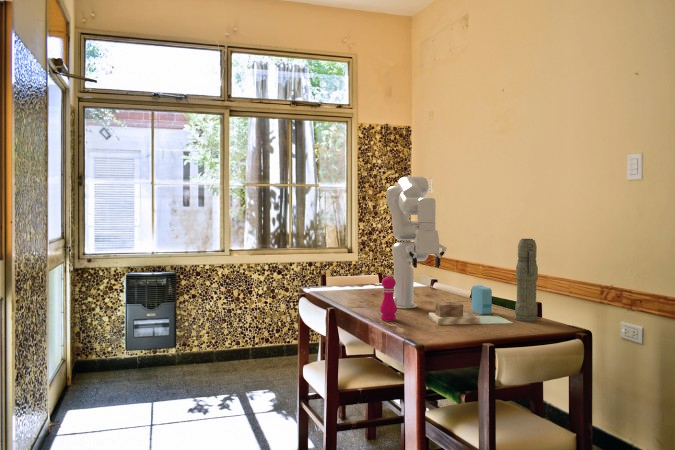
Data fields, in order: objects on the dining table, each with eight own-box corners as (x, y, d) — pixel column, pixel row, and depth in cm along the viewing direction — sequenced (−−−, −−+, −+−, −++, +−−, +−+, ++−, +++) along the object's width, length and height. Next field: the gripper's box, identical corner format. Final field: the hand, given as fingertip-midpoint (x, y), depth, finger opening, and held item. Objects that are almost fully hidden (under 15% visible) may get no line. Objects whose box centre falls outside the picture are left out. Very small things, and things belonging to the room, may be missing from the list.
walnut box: (439, 316, 228) (439, 305, 228) (435, 314, 234) (435, 302, 234) (463, 316, 229) (463, 304, 229) (458, 313, 236) (458, 302, 235)
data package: (491, 315, 246) (492, 288, 246) (482, 315, 245) (482, 288, 245) (480, 310, 258) (480, 285, 257) (471, 310, 257) (471, 285, 257)
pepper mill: (398, 318, 237) (398, 272, 237) (394, 321, 230) (395, 274, 230) (382, 317, 240) (382, 271, 239) (378, 320, 233) (378, 273, 232)
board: (437, 324, 225) (437, 318, 225) (428, 318, 238) (428, 312, 238) (479, 323, 227) (479, 317, 227) (468, 317, 240) (468, 311, 240)
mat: (480, 324, 226) (480, 323, 226) (467, 317, 241) (467, 316, 241) (512, 323, 228) (512, 322, 228) (498, 316, 242) (498, 315, 242)
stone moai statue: (523, 323, 229) (524, 239, 228) (510, 317, 240) (511, 238, 239) (542, 322, 230) (544, 239, 229) (529, 317, 242) (530, 238, 241)
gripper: (408, 227, 225) (408, 268, 226) (449, 227, 227) (448, 268, 228) (404, 226, 233) (404, 266, 233) (443, 226, 235) (443, 266, 235)
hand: (426, 267), depth 230 cm, fingers open, 9 cm apart
